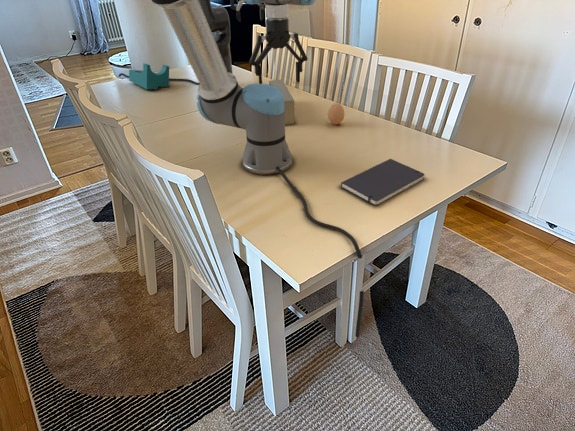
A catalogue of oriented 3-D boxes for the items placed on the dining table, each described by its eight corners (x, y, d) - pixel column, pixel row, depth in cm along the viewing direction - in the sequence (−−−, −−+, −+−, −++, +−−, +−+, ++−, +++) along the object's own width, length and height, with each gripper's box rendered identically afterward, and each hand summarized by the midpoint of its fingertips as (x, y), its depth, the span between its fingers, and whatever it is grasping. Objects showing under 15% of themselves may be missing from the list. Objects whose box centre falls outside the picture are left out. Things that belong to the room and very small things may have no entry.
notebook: (389, 163, 124) (340, 187, 113) (390, 158, 123) (341, 182, 112) (424, 178, 116) (375, 206, 105) (425, 174, 115) (376, 201, 104)
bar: (294, 124, 150) (294, 100, 145) (280, 125, 150) (279, 101, 144) (282, 101, 170) (282, 79, 165) (270, 102, 170) (269, 80, 164)
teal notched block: (168, 89, 190) (169, 66, 185) (146, 89, 182) (147, 65, 178) (150, 81, 201) (150, 59, 196) (129, 80, 193) (129, 57, 189)
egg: (332, 128, 146) (333, 107, 141) (324, 122, 150) (325, 101, 146) (346, 125, 148) (348, 104, 143) (338, 119, 152) (339, 99, 148)
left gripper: (265, -30, 151) (267, 17, 161) (227, -28, 150) (231, 20, 159) (268, -28, 145) (270, 21, 155) (228, -26, 144) (233, 23, 153)
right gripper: (310, 13, 137) (310, 76, 150) (238, 18, 134) (243, 82, 146) (316, 17, 132) (315, 83, 144) (240, 22, 128) (246, 89, 140)
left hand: (250, 20), depth 157 cm, fingers open, 8 cm apart
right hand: (279, 83), depth 145 cm, fingers open, 13 cm apart
